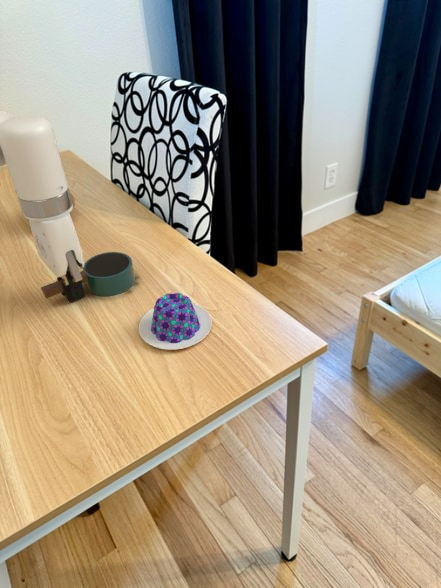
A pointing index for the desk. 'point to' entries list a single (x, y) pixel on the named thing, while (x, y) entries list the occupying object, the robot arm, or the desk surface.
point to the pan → (101, 275)
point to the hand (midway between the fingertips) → (73, 295)
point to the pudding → (174, 323)
